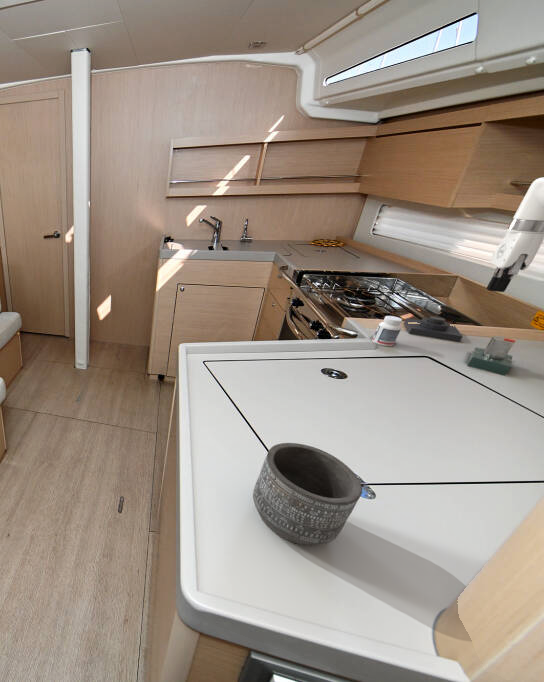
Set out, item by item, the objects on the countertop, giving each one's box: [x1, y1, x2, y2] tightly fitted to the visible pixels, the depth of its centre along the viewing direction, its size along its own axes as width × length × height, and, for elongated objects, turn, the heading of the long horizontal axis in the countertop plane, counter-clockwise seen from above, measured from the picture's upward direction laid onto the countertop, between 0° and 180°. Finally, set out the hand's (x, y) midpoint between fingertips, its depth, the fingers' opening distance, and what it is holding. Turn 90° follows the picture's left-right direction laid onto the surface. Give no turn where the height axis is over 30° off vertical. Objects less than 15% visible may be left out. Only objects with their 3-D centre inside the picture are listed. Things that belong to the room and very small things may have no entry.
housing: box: [403, 317, 464, 343], centre depth 120 cm, size 12×10×4 cm
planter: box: [252, 442, 363, 546], centre depth 58 cm, size 12×12×13 cm
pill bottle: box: [371, 315, 403, 347], centre depth 114 cm, size 5×5×9 cm
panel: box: [466, 346, 517, 376], centre depth 101 cm, size 9×8×3 cm
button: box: [428, 315, 446, 325], centre depth 119 cm, size 4×4×2 cm
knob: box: [482, 335, 517, 360], centre depth 99 cm, size 4×4×6 cm
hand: (494, 290), depth 104 cm, fingers closed
